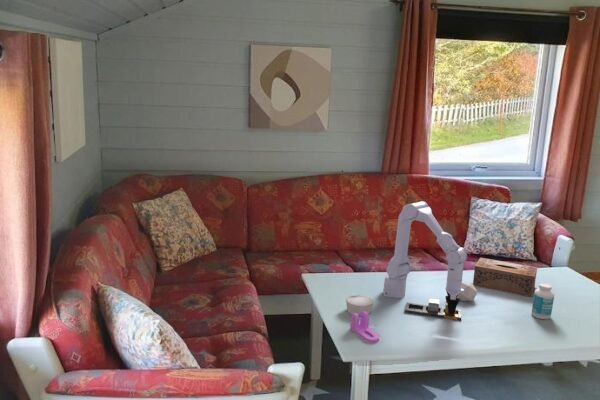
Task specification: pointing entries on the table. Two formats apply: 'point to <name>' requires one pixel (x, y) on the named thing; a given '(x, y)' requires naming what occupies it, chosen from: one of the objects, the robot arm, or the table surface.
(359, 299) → the ramekin
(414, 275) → the table surface
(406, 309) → the rail
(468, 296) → the die
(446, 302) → the light wood cube
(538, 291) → the pill bottle
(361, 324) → the bracket
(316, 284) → the table surface
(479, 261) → the tissue box cover
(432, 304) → the matte gray cube
